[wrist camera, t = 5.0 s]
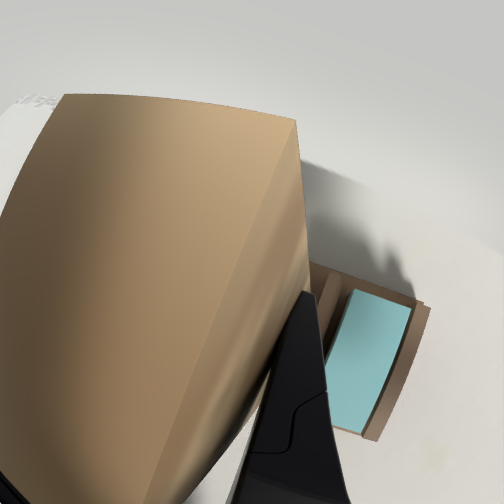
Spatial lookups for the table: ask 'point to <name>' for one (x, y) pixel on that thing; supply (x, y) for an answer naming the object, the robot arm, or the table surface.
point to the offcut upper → (362, 357)
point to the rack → (329, 309)
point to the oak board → (143, 293)
